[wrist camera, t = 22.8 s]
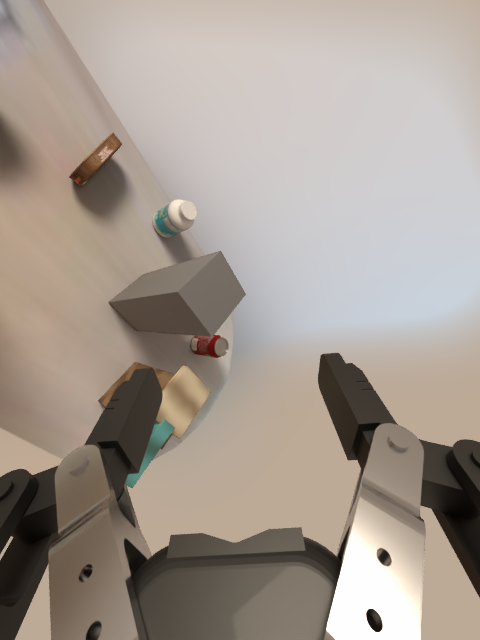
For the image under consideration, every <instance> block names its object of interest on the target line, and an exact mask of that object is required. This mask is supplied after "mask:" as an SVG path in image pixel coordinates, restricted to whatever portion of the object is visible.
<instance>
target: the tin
mask: <svg viewBox="0 0 480 640" xmlns="http://www.w3.org/2000/svg"><path fill="white" fill-rule="evenodd" d="M121 145H122V143H121V142H120V140H119V139H118V138H117V137H116V136H115V135H114V133H111V134H110V135H109V136H108V137H107V138H106V139H105V140H104V141H103V142H102V143H101V144H100V145H99V146H98V147H97V148H96V149H95V150H94V151H93V152H92V153H91V154H90V155H89V156H88V157H87V158H86V159H85V160H84V161H83V162H82V163H81V164H80V165H79V166H78V167H77V168H76V169H75V170H74V172H73V173H72V174H71V175H70V177H69V178H71V179H72V180H73V181H74V182H76V183H77V184H78V185H79V186H81V187H82V186H83V185H84V184H85V183H86V182H87V181H88V180H89V179H90V178H91V177H92V176H93V175H94V174H95V173H96V172H97V171H98V170H99V169H100V168H101V167H102V165H103V164H104V163H105V162H106V161H107V160H108V159H109V158H110V157H111V156H112V155H113V154H114V153H115V152H116V151H117V150H118V149H119V148H120V146H121Z"/></svg>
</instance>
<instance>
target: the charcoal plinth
mask: <svg viewBox="0 0 480 640" xmlns="http://www.w3.org/2000/svg"><path fill="white" fill-rule="evenodd" d="M245 295H246V294H245V292H244V290H243V288H242V287H241V285H240V283H239V282H238V280H237V278H236V276H235V275H234V273H233V271H232V269H231V268H230V266H229V264H228V263H227V261H226V259H225V257H224V256H223V254H222V252H221V251H219V252H215V253H212V254H208V255H205V256H202V257H199V258H195V259H192V260H189V261H186V262H182V263H179V264H176V265H172V266H169V267H166V268H163V269H159V270H156V271H153V272H150V273H146V274H143V275H142V276H141V277H139V278H138V279H137V280H136V281H134V282H133V283H132V284H131V285H129V286H128V287H127V288H126V289H124V290H123V291H122V292H121V293H119V294H118V295H117V296H116V297H114V298H113V299H112V300H111V301H109V303H110V304H111V305H112V306H113V307H114V308H115V309H116V310H117V312H118V313H119V314H120V315H121V316H122V317H123V318H124V319H125V320H126V321H127V322H128V323H129V324H130V325H131V326H132V327H133V328H134V329H135V330H136V331H147V332H159V333H171V334H183V335H195V336H206V337H213V335H214V334H215V333H216V332H217V330H218V329H219V328H220V326H221V325H222V324H223V323H224V321H225V320H226V319H227V318H228V316H229V315H230V314H231V312H232V311H233V310H234V309H235V307H236V306H237V305H238V304H239V302H240V301H241V300H242V298H243V297H244V296H245Z"/></svg>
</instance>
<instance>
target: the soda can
mask: <svg viewBox="0 0 480 640" xmlns="http://www.w3.org/2000/svg"><path fill="white" fill-rule="evenodd" d="M228 348H229V345H228V341H227V340H226V339H225V338H223V337H222V336H219V335H213V337H206V336H194V337H193V339H192V341H191V349H192V351H193V352H194V353H195V354H198V355H204V356H210V357H215V358H218V357H221V356H224V355H225V354H226V353H227V351H228Z"/></svg>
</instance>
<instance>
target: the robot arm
mask: <svg viewBox="0 0 480 640" xmlns="http://www.w3.org/2000/svg"><path fill="white" fill-rule="evenodd" d="M318 384H319V388H320V391H321V394H322V396H323V399H324V401H325V404H326V406H327V409H328V411H329V414H330V416H331V419H332V421H333V424H334V426H335V429H336V431H337V434H338V436H339V439H340V441H341V444H342V447H343V449H344V452H345V454H346V456H347V459H348V460H358V463H359V465H360V467H361V470H360V473H359V477H358V481H357V485H356V488H355V492H354V496H353V499H352V503H351V507H350V511H349V514H348V518H347V521H346V524H345V527H344V531H343V534H342V537H341V541H340V544H339V548H338V552H337V556H335V555H334V554H333V553H332V552H331V551H329V550H328V549H327V548H326V547H324V546H322V545H321V544H319V543H318V542H316V541H313V540H311V539H309V538H306V537H303V534H302V529H301V528H284V529H269V530H266V531H264V532H261V533H259V534H257V535H254V536H252V537H250V538H247V539H245V540H242V541H240V542H237V543H232V542H229V541H226V540H222V539H219V538H216V537H213V536H210V535H206V534H203V533H198V534H182V535H171V536H170V542H169V546H167V547H165V548H163V549H161V550H160V551H158V552H157V553H155V554H154V555H153V556H152V555H151V552H150V550H149V547H148V545H147V543H146V540H145V539H144V537H143V535H142V533H141V530H140V527H139V524H138V521H137V518H136V515H135V512H134V508H133V506H132V502H131V499H130V496H129V492H128V489H127V486H126V484H125V482H126V479H127V476H128V474H137V473H139V471H140V468H141V465H142V461H143V458H144V455H145V452H146V449H147V446H148V443H149V440H150V437H151V434H152V431H153V428H154V424H155V421H156V418H157V415H158V412H159V409H160V406H161V403H162V397H163V393H162V388H161V386H160V383H159V381H158V378H157V376H156V373H155V371H154V369H153V368H141V369H135V370H134V372H133V373H132V375H131V377H130V379H129V381H124V382H123V383H122V384H121V385H120V386H119V387H118V388H117V389H116V390H115V391H114V393H113V395H112V397H111V399H110V402H108V404H107V406H106V408H105V410H104V411H103V413H102V415H101V416H100V418H99V420H98V422H97V424H96V425H95V427H94V429H93V431H92V433H91V434H90V436H89V438H88V440H87V441H86V443H85V445H84V446H82V447H79V448H77V449H75V450H74V451H72V452H71V453H70V454H68V455H67V456H66V457H65V458H64V459H63V461H62V462H61V463H60V465H59V466H56V467H54V468H51V469H48V470H45V471H43V472H40V473H37V474H35V475H31V474H30V473H29V472H28V471H27V470H24V469H17V470H14V471H11V472H9V473H7V474H5V475H3V476H2V477H0V554H1V552H2V550H3V549H4V547H5V545H6V543H7V542H8V540H9V538H10V536H12V537H14V538H13V539H12V541H11V543H10V545H9V546H8V548H7V550H6V552H5V553H4V555H3V557H2V559H1V560H0V640H15V637H16V635H17V633H18V630H19V628H20V626H21V624H22V622H23V619H24V617H25V615H26V613H27V610H28V608H29V606H30V603H31V601H32V599H33V597H34V594H35V592H36V590H37V588H38V585H39V583H40V581H41V579H42V576H43V574H44V572H45V569H46V567H47V565H48V563H49V589H50V615H51V616H50V617H51V640H420V629H421V610H422V592H423V591H422V590H423V573H424V554H425V553H424V552H425V523H424V520H423V519H421V517H420V505H421V506H425V507H428V508H431V509H432V510H433V512H434V514H435V516H436V518H437V520H438V522H439V523H440V525H441V527H442V529H443V531H444V532H445V534H446V536H447V538H448V540H449V542H450V544H451V546H452V547H453V549H454V551H455V553H456V554H457V557H458V558H459V560H460V562H461V564H462V566H463V568H464V569H465V572H466V573H467V575H468V577H469V579H470V581H471V582H472V584H473V586H474V588H475V590H476V592H477V594H478V595H479V597H480V442H477V441H473V440H459V441H457V442H456V443H455V444H454V445H453V447H449V446H445V445H440V444H435V443H431V442H427V441H423V440H420V439H418V438H417V437H416V436H415V435H414V434H413V433H412V432H410V431H409V430H407V429H406V428H404V427H402V426H399V425H398V424H397V423H396V422H395V420H394V419H393V417H392V416H391V415H390V413H389V411H388V410H387V409H386V407H385V405H384V404H383V402H382V401H381V399H380V398H379V396H378V394H377V393H376V391H374V389H373V387H372V385H371V384H370V383H369V382H368V379H367V378H366V376H365V375H364V373H363V372H362V370H360V369H359V368H357V367H356V366H355V365H354V364H353V363H348V364H346V363H345V362H344V360H343V358H342V356H341V355H340V354H339V353H330V354H322V355H321V358H320V367H319V374H318Z"/></svg>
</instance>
